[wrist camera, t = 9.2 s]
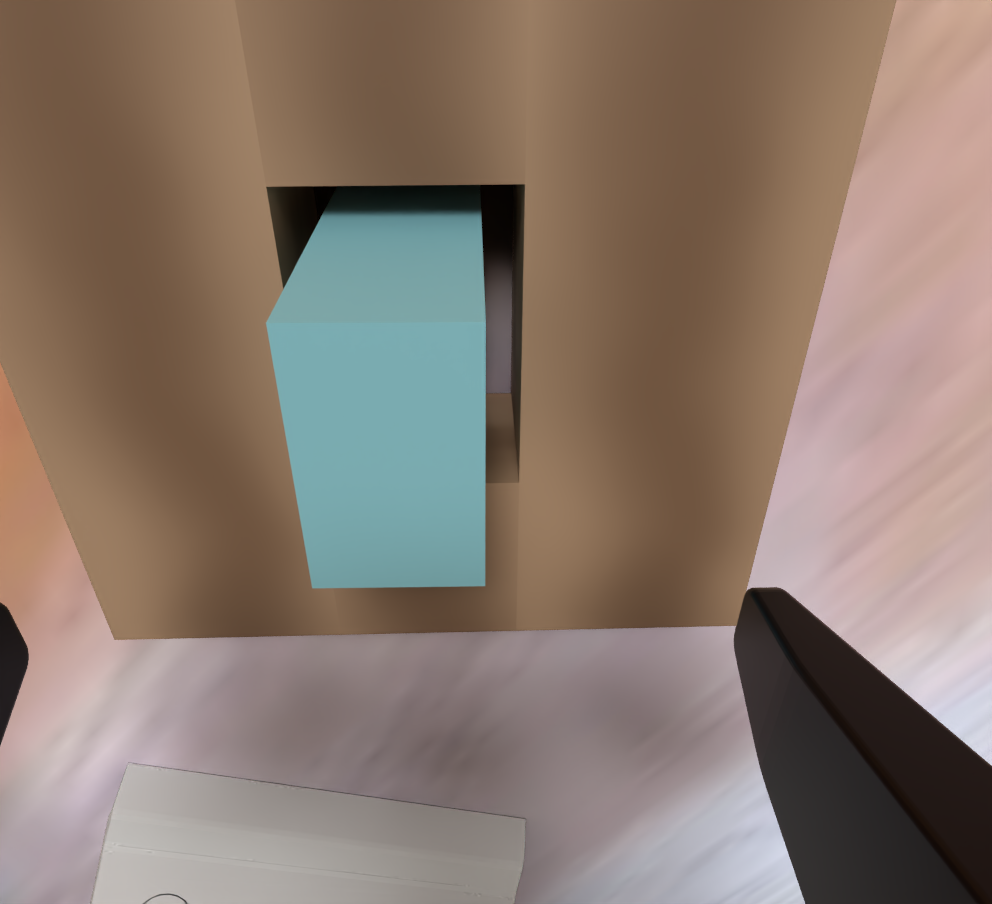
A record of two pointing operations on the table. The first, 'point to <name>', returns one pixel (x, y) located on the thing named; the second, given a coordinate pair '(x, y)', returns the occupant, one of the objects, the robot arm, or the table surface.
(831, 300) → the table surface
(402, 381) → the keyed peg
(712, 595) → the socket block
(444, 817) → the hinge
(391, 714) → the table surface
